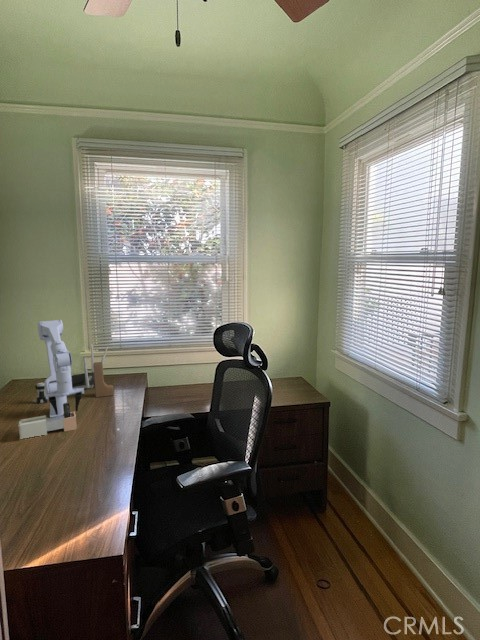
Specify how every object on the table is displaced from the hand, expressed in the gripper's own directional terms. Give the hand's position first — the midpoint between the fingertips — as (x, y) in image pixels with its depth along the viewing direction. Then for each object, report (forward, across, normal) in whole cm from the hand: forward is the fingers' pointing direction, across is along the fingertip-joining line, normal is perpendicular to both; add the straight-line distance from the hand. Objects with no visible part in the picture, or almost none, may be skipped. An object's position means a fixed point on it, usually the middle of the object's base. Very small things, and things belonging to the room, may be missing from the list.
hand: (66, 411), depth 152 cm
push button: (+7, -11, +39) cm, 41 cm away
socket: (+7, +1, 0) cm, 7 cm away
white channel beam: (+7, -13, 0) cm, 15 cm away
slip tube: (+6, -4, 0) cm, 7 cm away
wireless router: (+8, +13, +60) cm, 62 cm away
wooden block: (+7, +19, +34) cm, 40 cm away
